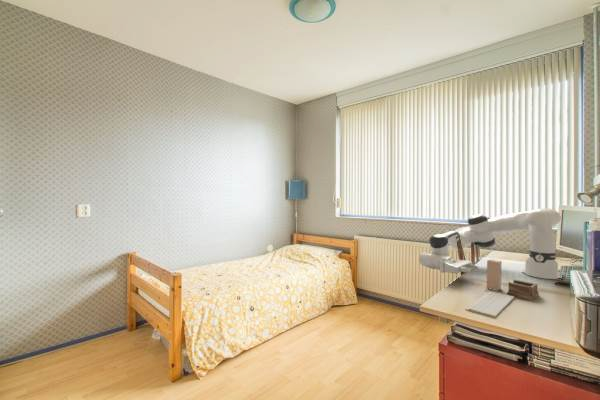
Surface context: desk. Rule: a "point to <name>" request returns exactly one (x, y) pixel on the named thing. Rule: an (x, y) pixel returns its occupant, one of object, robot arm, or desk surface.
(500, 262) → the clay strip
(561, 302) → the desk surface
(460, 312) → the desk surface
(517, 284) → the slotted wooden stand
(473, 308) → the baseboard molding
